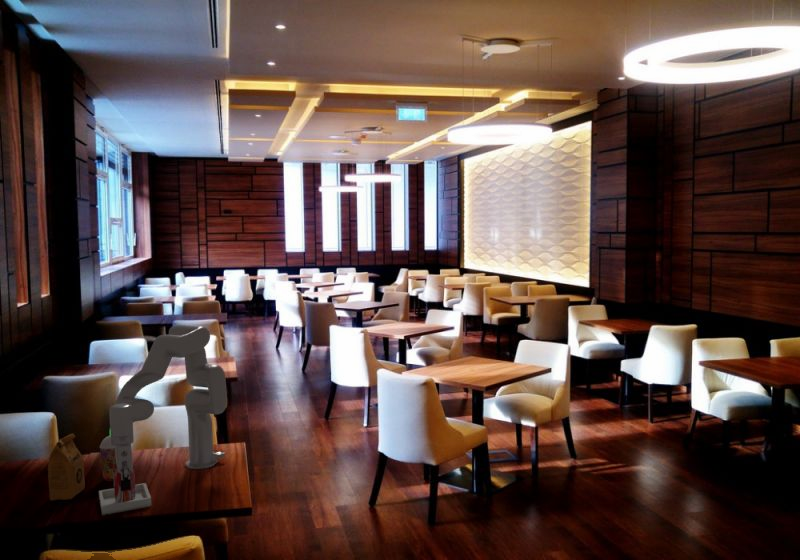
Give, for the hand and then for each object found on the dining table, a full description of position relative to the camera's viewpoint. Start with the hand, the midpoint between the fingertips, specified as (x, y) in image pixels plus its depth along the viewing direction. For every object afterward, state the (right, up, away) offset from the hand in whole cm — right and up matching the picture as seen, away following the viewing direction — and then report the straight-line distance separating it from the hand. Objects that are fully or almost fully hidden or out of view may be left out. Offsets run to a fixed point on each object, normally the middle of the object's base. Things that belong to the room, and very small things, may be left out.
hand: (124, 485), depth 245 cm
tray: (0, -6, 0) cm, 6 cm away
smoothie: (-14, -5, +23) cm, 28 cm away
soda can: (0, -6, +1) cm, 6 cm away
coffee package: (-24, -6, +7) cm, 26 cm away
